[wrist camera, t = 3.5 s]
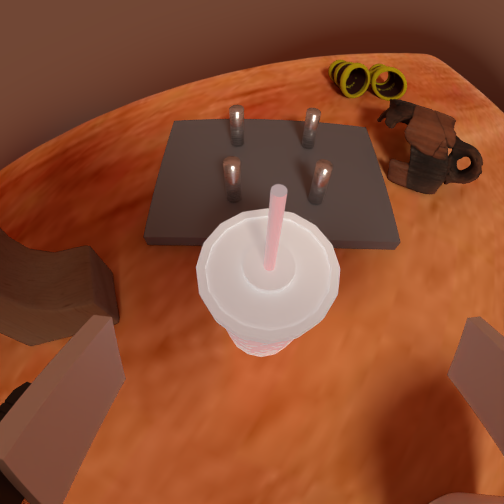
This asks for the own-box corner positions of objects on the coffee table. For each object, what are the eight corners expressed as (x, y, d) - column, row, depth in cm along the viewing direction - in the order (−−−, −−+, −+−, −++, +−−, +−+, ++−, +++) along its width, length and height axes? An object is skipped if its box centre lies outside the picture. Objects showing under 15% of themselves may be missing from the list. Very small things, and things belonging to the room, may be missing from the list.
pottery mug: (356, 172, 28) (372, 91, 24) (381, 162, 35) (394, 100, 31) (470, 219, 22) (495, 132, 18) (469, 197, 29) (487, 132, 25)
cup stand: (147, 244, 24) (126, 205, 19) (176, 129, 30) (167, 89, 26) (394, 249, 24) (421, 213, 19) (363, 135, 30) (375, 97, 26)
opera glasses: (385, 89, 37) (390, 60, 33) (403, 104, 34) (410, 72, 30) (325, 86, 37) (327, 53, 33) (339, 100, 33) (343, 64, 29)
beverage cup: (286, 381, 19) (355, 333, 7) (201, 345, 20) (127, 240, 8) (317, 301, 22) (394, 159, 9) (238, 270, 23) (228, 107, 10)
